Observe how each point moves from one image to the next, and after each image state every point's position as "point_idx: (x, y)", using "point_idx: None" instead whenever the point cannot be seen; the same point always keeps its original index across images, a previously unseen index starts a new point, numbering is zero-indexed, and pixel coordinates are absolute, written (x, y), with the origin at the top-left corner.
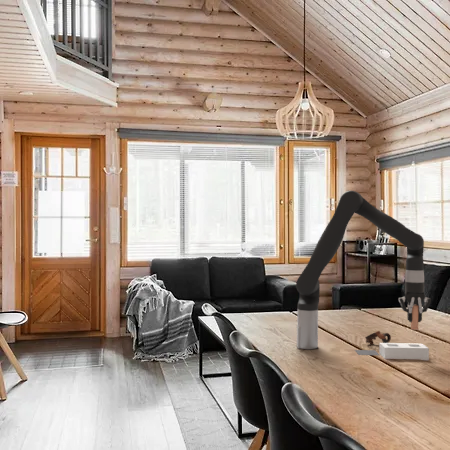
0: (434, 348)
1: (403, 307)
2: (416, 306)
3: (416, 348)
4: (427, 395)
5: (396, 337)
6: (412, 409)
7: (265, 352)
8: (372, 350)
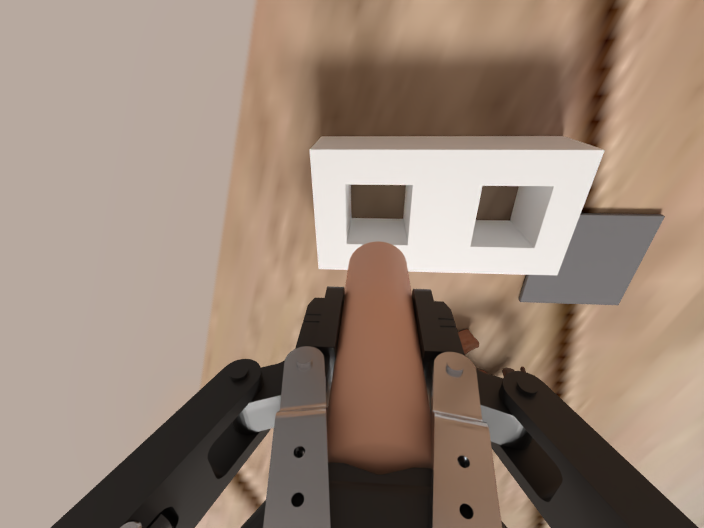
0: (247, 342)
1: (589, 430)
2: (368, 430)
3: (388, 149)
4: None
5: None
6: None
7: None
8: (534, 298)
